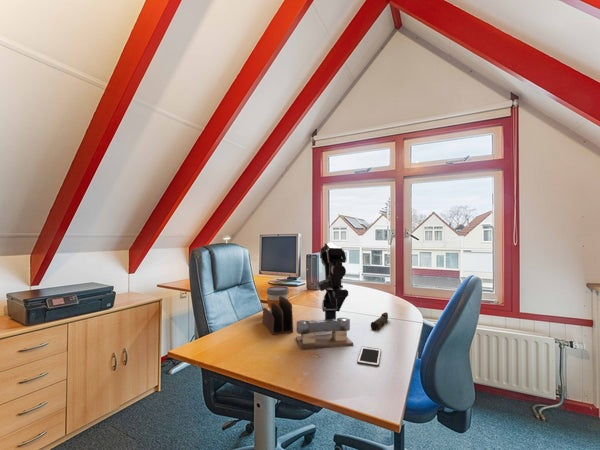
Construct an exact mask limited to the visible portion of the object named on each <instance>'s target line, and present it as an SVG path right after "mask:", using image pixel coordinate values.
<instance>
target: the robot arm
mask: <svg viewBox="0 0 600 450" xmlns="http://www.w3.org/2000/svg"><path fill="white" fill-rule="evenodd" d="M319 259H321V263H322V265H323V266H324V278H325V279H324V280H320V281H317V283H316V284H317V287H318V288H317V289H318V290H319V291H320V292H323V291H325V294H324V296H323V299H322V302H321V310H322V312H324V320H326V319H337V312H338V313H339V312H340V310H341V308H342V306H343V304H344V302H345V300H346V298H348V296H349V291H348V290H347V289H346V288H344V286H343V285H344V284H343V285H342V280H343V279H344V276H345V275H346V273H347V270H346V267H345V266H344V265H343V263H344V264H345V263H346V262H347V257H346V252H345V250H344V248H343V247H339V246H336V245H335V242H334V243H333V242H325V243H324V245H323V246H322V247H321V248H320V250H319Z"/></svg>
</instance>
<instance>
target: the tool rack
mask: <svg viewBox="0 0 600 450" xmlns="http://www.w3.org/2000/svg"><path fill="white" fill-rule="evenodd" d="M295 340H296V342H297V344H298V346H299V347H300V350H301V351H306V350H307V351H308V350H317V349H328V348H339V347H350V346H351V347H352V346H354V343H353V341H352V340H351V339H350V338H349V337H348V331H331V333H325V334H316V332H315V333H308V334H300V335H298V336H297V335H296V336H295Z"/></svg>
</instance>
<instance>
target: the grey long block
mask: <svg viewBox="0 0 600 450" xmlns="http://www.w3.org/2000/svg"><path fill="white" fill-rule="evenodd" d="M350 330H351V319H349V318H348V317H338V318H336V319H326V320H325V319H315V320H314V319H313V320H306V319H303V320H302V319H301V320H297V321H296V333H297V334H299V335H301V334H308V333H315V334H316V333H324V332H325V333H327V332H332V331H347V332H348V331H350Z"/></svg>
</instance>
